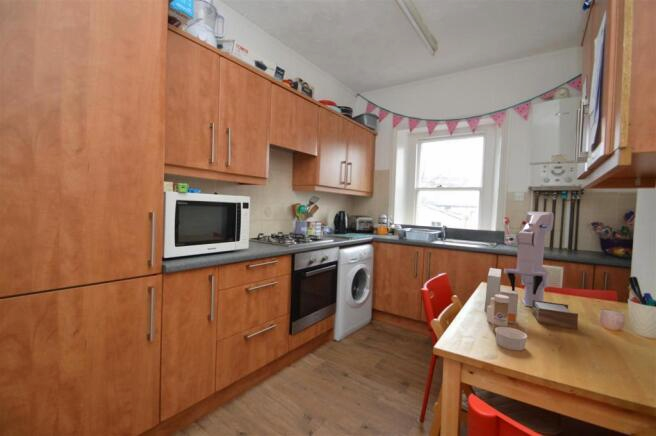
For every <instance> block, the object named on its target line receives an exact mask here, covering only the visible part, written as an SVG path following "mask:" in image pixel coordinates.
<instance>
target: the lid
mask: <svg viewBox="0 0 656 436" xmlns="http://www.w3.org/2000/svg"><path fill="white" fill-rule="evenodd" d="M534 305H535V307H536V308H537V309H538V310H539V308H542V309H549V310H556V311H563V312H570V313H572V312H571V311H570V310H569V308H568V309H567V308H566V307H565V306H563V305H556V304H548V303H541V302H535V304H534Z"/></svg>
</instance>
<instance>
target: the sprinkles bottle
mask: <svg viewBox="0 0 656 436" xmlns="http://www.w3.org/2000/svg"><path fill="white" fill-rule="evenodd" d="M494 300H495V305H494V319H493V324H492V326H493V327H492V333H494V334H496V332H495V329H496V328H497V327H508V324H509V322H508V304H509V297H508V296H505V295H499V294H497V295H495V297H494Z"/></svg>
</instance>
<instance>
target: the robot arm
mask: <svg viewBox="0 0 656 436" xmlns="http://www.w3.org/2000/svg"><path fill="white" fill-rule="evenodd" d="M554 217H555V215H554V213H553V211H550V212H549V211H531V210H529V211H528V212H527V213H526V217H525V219H526V221H525V222H526V224H525V225H524V226H523V228H522V230H520V231H518V232H516V233H517V234H516V238H515V240H516V241H515V242H516V250H517V253H516V254H517V257H516V268H503V269H504V270H503V273H504V274H505V275H507V277H508V280H509V282H510V285H511V286H510V287H511V291H516V275H517V276H521V282H522V284H523V286H524V290H523V291H524V292H523V293H524V294H523V296H524V297H523V299H521V302H522V303H523V305H524V306H525V307H529V308H532V305H533V300H536V301H543V302H544V299H545V298H544V296H545V289H546V288H548V286H549V284H550V281H549V280H550V273H549V270H548V269H547V268H545V267H544V266H543V262H544V253H545V248H546V247H545V245H546V236H547V234H548V233H549V232H551V231H553V227H554V220H555V219H554Z"/></svg>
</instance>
